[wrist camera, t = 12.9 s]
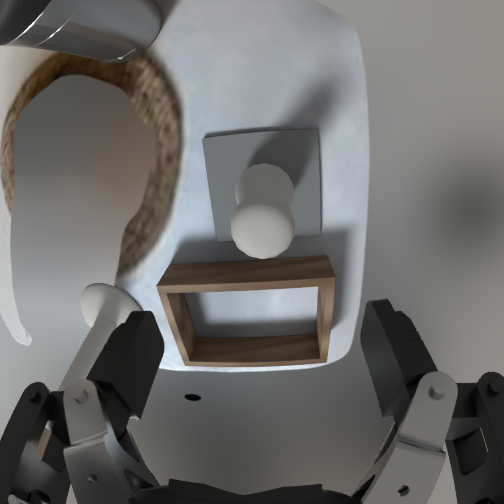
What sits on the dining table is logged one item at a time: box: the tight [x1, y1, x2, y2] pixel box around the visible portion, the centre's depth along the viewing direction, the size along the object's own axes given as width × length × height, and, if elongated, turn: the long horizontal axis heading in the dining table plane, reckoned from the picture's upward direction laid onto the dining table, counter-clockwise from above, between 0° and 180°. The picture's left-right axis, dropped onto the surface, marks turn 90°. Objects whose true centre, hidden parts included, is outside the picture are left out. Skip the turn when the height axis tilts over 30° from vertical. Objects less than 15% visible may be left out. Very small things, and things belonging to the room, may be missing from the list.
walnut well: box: [157, 256, 336, 367], centre depth 34 cm, size 14×20×5 cm
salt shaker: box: [231, 163, 295, 259], centre depth 23 cm, size 6×6×13 cm
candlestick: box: [37, 283, 142, 460], centre depth 26 cm, size 13×13×30 cm
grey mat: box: [202, 129, 320, 242], centre depth 29 cm, size 12×12×1 cm
